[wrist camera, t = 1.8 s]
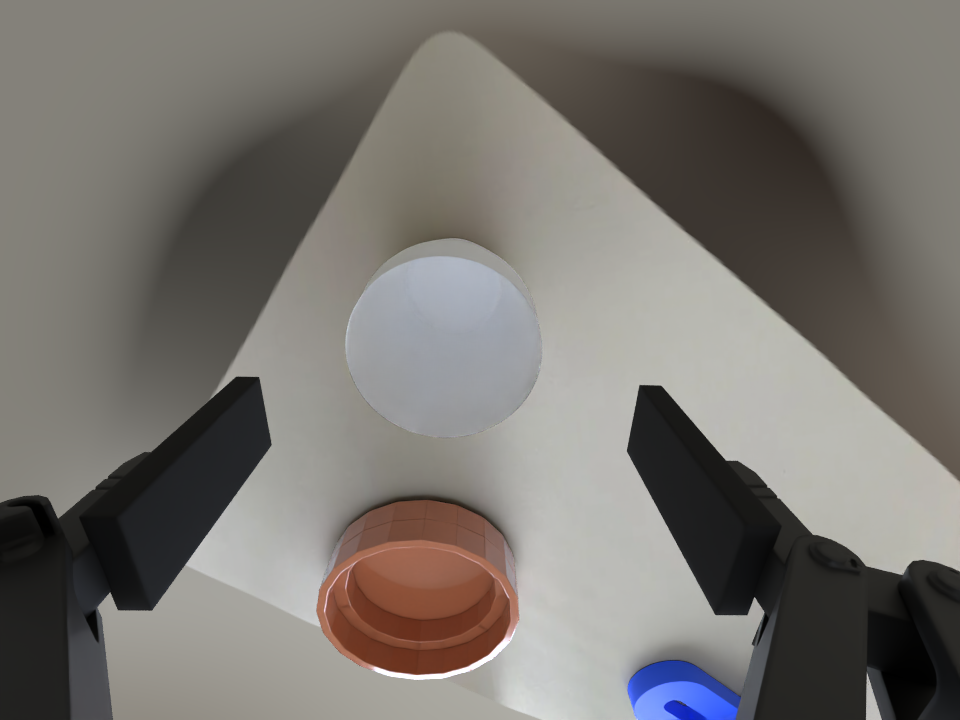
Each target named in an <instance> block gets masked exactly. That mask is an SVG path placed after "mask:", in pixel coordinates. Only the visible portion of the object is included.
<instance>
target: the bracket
mask: <svg viewBox="0 0 960 720" xmlns="http://www.w3.org/2000/svg"><path fill="white" fill-rule="evenodd" d="M628 694H629V697H630V700H631V704H632V707H633V710H634V714H635V716H636V718H637V719H638V720H735V719H736V715H737V711H738V707H739V704H740V700H741V697H740V696H738V695H737V694H735V693H734V692H732V691H731V690H729V689H728V688H727V687H725V686H724V685H722V684H721V683H719V682H718V681H717V680H715V679H714V678H712V677H711V676H709V675H708V674H706V673H705V672H704V671H702V670H701V669H699V668H698V667H696V666H695V665H693V664H691V663H688V662H684V661H663V662H658V663H654V664H652V665H649V666H647V667H645V668H643V669H641V670H640V671H639V672H637V673H636V674H635V675H634V676H633V677H632V679H631V680H630V682H629V684H628ZM675 700H679V701H681V702H683V703H684V704H686V705H688V706H684V705H681V704H680V703H678V702H677V701H675Z"/></svg>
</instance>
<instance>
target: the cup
mask: <svg viewBox="0 0 960 720" xmlns="http://www.w3.org/2000/svg"><path fill="white" fill-rule="evenodd" d="M345 348H346V358H347V363H348V367H349V370H350V374H351V376H352V378H353V381H354V383H355V385H356V387H357V388H358V390H359V392H360V393H361V395H362V396H363V398H364V399H365V400H366V401H367V402H368V404H369V405H370V406H371V407H372V408H373V409H374V410H375V411H376V412H378V413H379V414H380V415H381V416H382V417H384V418H385V419H387V420H388V421H390V422H391V423H393V424H395V425H397V426H399V427H401V428H403V429H405V430H408V431H410V432H413V433H417V434H420V435H425V436H430V437H439V438H452V437H462V436H468V435H472V434H476V433H479V432H482V431H484V430H487V429H489V428H491V427H493V426H495V425H497V424H499V423H500V422H502V421H503V420H505V419H506V418H507V417H509V416H510V415H511V414H512V413H514V412H515V411H516V410H517V409H518V408H519V407H520V405H521V404H522V403H523V402H524V401H525V399H526V398H527V396H528V395H529V393H530V392H531V390H532V388H533V386H534V384H535V382H536V379H537V376H538V373H539V370H540V365H541V359H542V340H541V333H540V328H539V324H538V321H537V314H536V310H535V305H534V302H533V299H532V297H531V295H530V292H529V290H528V288H527V287H526V285H525V283H524V282H523V280H522V279H521V278H520V276H519V275H518V274H517V273H516V271H515V270H514V269H513V268H512V267H511V266H510V265H509V264H508V263H507V262H505V261H504V260H503V259H502V258H500V257H499V256H498V255H496V254H494V253H493V252H491V251H489V250H487V249H486V248H484V247H482V246H479V245H477V244H475V243H473V242H471V241H468V240H464V239H459V238H447V239H440V240H433V241H428V242H423V243H420V244H416V245H414V246H411V247H408V248H406V249H404V250H403V251H401V252H399V253H397V254H396V255H394V256H393V257H391V258H390V259H389V260H387V261H386V262H385V263H384V264H383V265H382V266H381V267H380V268H379V269H378V270H377V271H376V272H375V273H374V274H373V276H372V277H371V279H370V280H369V282H368V283H367V285H366V287H365V289H364V291H363V293H362V295H361V296H360V298H359V300H358V301H357V303H356V305H355V307H354V309H353V311H352V314H351V316H350V319H349V323H348V327H347V332H346V346H345Z"/></svg>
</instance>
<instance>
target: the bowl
mask: <svg viewBox="0 0 960 720" xmlns="http://www.w3.org/2000/svg"><path fill="white" fill-rule="evenodd" d="M316 611H317V615H318V618H319V621H320V624H321V628H322V631H323V633H324V634H325V636H326V637H327V638H328V639H329V641H330V642H331V643H332V644H333V645H334V646H335V648H336V649H337V650H338V651H339V652H340V653H341V654H343V655H344V656H346V657H347V658H349V659H350V660H352V661H353V662H355V663H356V664H358V665H359V666H362V667H365V668H367V669H370V670H373V671H376V672H379V673H381V674H384V675H388V676H393V677H400V678H409V679H415V680H420V679H435V678H445V677H449V676H453V675H456V674H460V673H464V672H467V671H471V670H473V669H475V668H477V667H479V666H480V665H482V664H484V663H486V662H487V661H489V660H491V659H493V658H494V657H496V655H497V654H498V653H499V652H500V651H501V650H502V649H503V648H504V647H505V646H506V645H507V644H508V643H509V642H510V640H511V639H512V636H513V634H514V631H515V629H516V626H517V624H518V621H519V607H518V594H517V584H516V575H515V565H514V556H513V554H512V552H511V550H510V548H509V546H508V544H507V542H506V540H505V538H504V536H503V535H502V534H501V533H500V532H499V531H498V530H497V529H496V528H495V527H493V526H492V525H491V524H490V523H489V522H488V521H487V520H486V519H485V518H483V517H481V516H479V515H477V514H475V513H473V512H471V511H469V510H466V509H464V508H462V507H460V506H458V505H454V504H449V503H443V502H438V501H432V500H416V501H401V502H395V503H392V504H389V505H386V506H383V507H380V508H377V509H374V510H371V511H369V512H367V513H366V514H365V515H363V516H362V517H361V518H359V519H358V520H356V521H355V522H354V523H352V524H351V525H350V526H348V528H347V529H346V530H345V532H344V533H343V535H342V536H341V538H340V539H339V541H338V543H337V544H336V546H335V548H334V551H333V553H332V556H331V559H330V562H329V564H328V567H327V570H326V573H325V575H324V578H323V581H322V584H321V587H320V589H319V596H318V603H317V610H316Z"/></svg>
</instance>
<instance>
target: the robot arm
mask: <svg viewBox="0 0 960 720" xmlns="http://www.w3.org/2000/svg"><path fill="white" fill-rule="evenodd" d="M271 445H272V444H271V439H270V433H269V428H268V422H267V417H266V412H265V406H264V401H263V395H262V390H261V384H260V379H259V377H235V378H234V379H233V380H232V381H231V382H230V383H229V384H228V385H226V386H225V387H224V388H223V389H222V390H221V391H220V392H219V393H217V394H216V395H215V396H214V397H213V398H212V399H211V400H210V401H208V402H207V403H206V404H205V405H204V406H203V407H202V408H201V409H200V410H198V411H197V412H196V413H195V414H194V415H193V416H192V417H190V418H189V419H188V420H187V421H186V422H185V423H184V424H183V425H181V426H180V427H179V428H178V429H177V430H176V431H175V432H174V433H172V434H171V435H170V436H169V437H168V438H167V439H166V440H165V441H163V442H162V443H161V444H160V445H159V446H158V447H157V448H156V449H154V450H153V451H152V452H144V453H142V454H140V455H138V456H136V457H134V458H133V459H131V460H129V461H127V462H125V463H123V464H122V465H121V466H120V467H119V468H118V469H117V470H115V471H114V472H113V473H112V474H110V475H109V476H108V479H105V480H103V481H102V482H101V483H100V484H99V485H97V486H96V489H95V490H92V491H91V492H89V493H88V494H87V495H86V496H85V497H83V498H82V499H81V500H80V501H79V502H77V503H76V504H75V505H74V506H73V507H72V508H70V509H69V510H68V511H67V512H66V513H65V514H63V515H62V516H61V517H60V518H59V519H58V518H57V516H56V514H55V511H54V509H53V507H52V505H51V503H50V501H49V499H48V498H47V497H43V496H39V495H34V496H23V497H19V498H15V499H11V500H7V501H4V502H2V503H0V720H113V716H112V708H111V698H110V689H109V680H108V670H107V661H106V652H105V643H104V634H103V625H102V617H101V615H100V613H99V610H98V608H97V607H98V606H99V604H100V603H101V602H102V601H103V600H104V598H105V597H106V596H107V595H108V594H109V593H110V592H111V594H112V597H113V600H114V602H115V604H116V607H117V609H118V610H149V611H150V610H153V608H154V607H155V606H156V604H157V603H158V602H159V600H160V599H161V597H162V596H163V594H164V593H165V592H166V590H167V589H168V588H169V586H170V585H171V584H172V582H173V581H174V579H175V578H176V577H177V575H178V574H179V572H180V571H181V570H182V568H183V567H184V566H185V564H186V563H187V561H188V560H189V559H190V557H191V556H192V555H193V553H194V552H195V550H196V549H197V548H198V546H199V545H200V543H201V542H202V541H203V539H204V538H205V537H206V535H207V534H208V532H209V531H210V530H211V528H212V527H213V525H214V524H215V523H216V521H217V520H218V519H219V517H220V516H221V514H222V513H223V512H224V510H225V509H226V507H227V506H228V505H229V503H230V502H231V501H232V499H233V498H234V496H235V495H236V494H237V492H238V491H239V489H240V488H241V487H242V485H243V484H244V483H245V481H246V480H247V478H248V477H249V476H250V474H251V473H252V471H253V470H254V469H255V467H256V466H257V465H258V463H259V462H260V460H261V459H262V458H263V456H264V455H265V454H266V452H267V451H268V449H269V448H270V447H271ZM627 452H628V454H629V456H630V458H631V460H632V462H633V463H634V465H635V467H636V469H637V471H638V473H639V475H640V476H641V478H642V480H643V482H644V484H645V486H646V488H647V489H648V491H649V493H650V495H651V497H652V499H653V500H654V502H655V504H656V506H657V508H658V510H659V512H660V513H661V515H662V517H663V519H664V521H665V523H666V524H667V526H668V528H669V530H670V532H671V534H672V536H673V537H674V539H675V541H676V543H677V545H678V547H679V549H680V550H681V552H682V554H683V556H684V558H685V560H686V561H687V563H688V565H689V567H690V569H691V571H692V573H693V574H694V576H695V578H696V580H697V582H698V584H699V585H700V587H701V589H702V591H703V593H704V595H705V597H706V598H707V600H708V602H709V604H710V606H711V608H712V610H713V611H714V613H715V615H748V612H749V609H750V607H751V604H752V602H753V599H754V597H755V598H756V600H757V601H758V603H759V604H760V606H761V607H762V609H763V610H764V612H765V613H764V615H763V618H762V620H761V622H760V625H759V627H758V630H757V632H756V635H755V637H754V639H753V642H752V645H754V650H753V653H752V657H751V661H750V665H749V669H748V673H747V677H746V680H745V684H744V688H743V692H742V696H741V700H740V704H739V707H738V711H737V715H736V719H735V720H866V680H867V673H868V676H869V680H870V683H871V686H872V689H873V692H874V696H875V699H876V702H877V705H878V708H879V712H880V715H881V718H882V720H960V572H959V571H957V570H955V569H953V568H950V567H947V566H945V565H942V564H939V563H936V562H931V561H925V560H919V561H913V562H912V563H911V564H910V565H909V566H908V567H907V569H906V571H905V572H904V574H903V575H899V574H895V573H891V572H887V571H883V570H879V569H875V568H871V567H867V566H865V564H864V563H863V562H862V561H861V560H860V558H859V557H858V556H857V555H856V554H854V553H853V552H852V551H850V550H849V549H848V548H846V547H845V546H843V545H841V544H839V543H837V542H835V541H833V540H831V539H828V538H824V537H821V536H818V535H812V533H811V532H810V531H809V530H808V529H807V528H806V527H805V526H804V525H803V524H802V523H801V522H800V520H799V519H798V518H797V517H796V516H795V515H794V514H793V513H792V512H791V511H790V510H789V509H788V507H787V506H786V505H785V504H784V503H783V502H782V501H781V500H780V499H777V496H776V494H775V493H774V492H773V491H772V490H771V489H770V488H767V485H766V484H765V483H764V481H763V480H762V479H761V478H760V477H759V476H758V475H757V474H756V473H755V472H754V471H752V470H751V469H749V468H748V467H746V466H745V465H743V464H742V463H740V462H738V461H726V460H725V459H724V458H723V457H722V456H721V454H720V453H719V452H718V451H717V450H716V449H715V447H714V446H713V445H712V444H711V443H710V442H709V441H708V439H707V438H706V437H705V436H704V435H703V434H702V432H701V431H700V430H699V429H698V428H697V427H696V425H695V424H694V423H693V422H692V421H691V420H690V418H689V417H688V416H687V415H686V414H685V413H684V411H683V410H682V409H681V408H680V407H679V406H678V404H677V403H676V402H675V401H674V400H673V399H672V397H671V396H670V395H669V394H668V393H667V392H666V391H665V389H664V388H663V387H662V386H654V385H640V386H639V391H638V396H637V401H636V406H635V412H634V417H633V422H632V427H631V432H630V437H629V443H628V448H627Z"/></svg>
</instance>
